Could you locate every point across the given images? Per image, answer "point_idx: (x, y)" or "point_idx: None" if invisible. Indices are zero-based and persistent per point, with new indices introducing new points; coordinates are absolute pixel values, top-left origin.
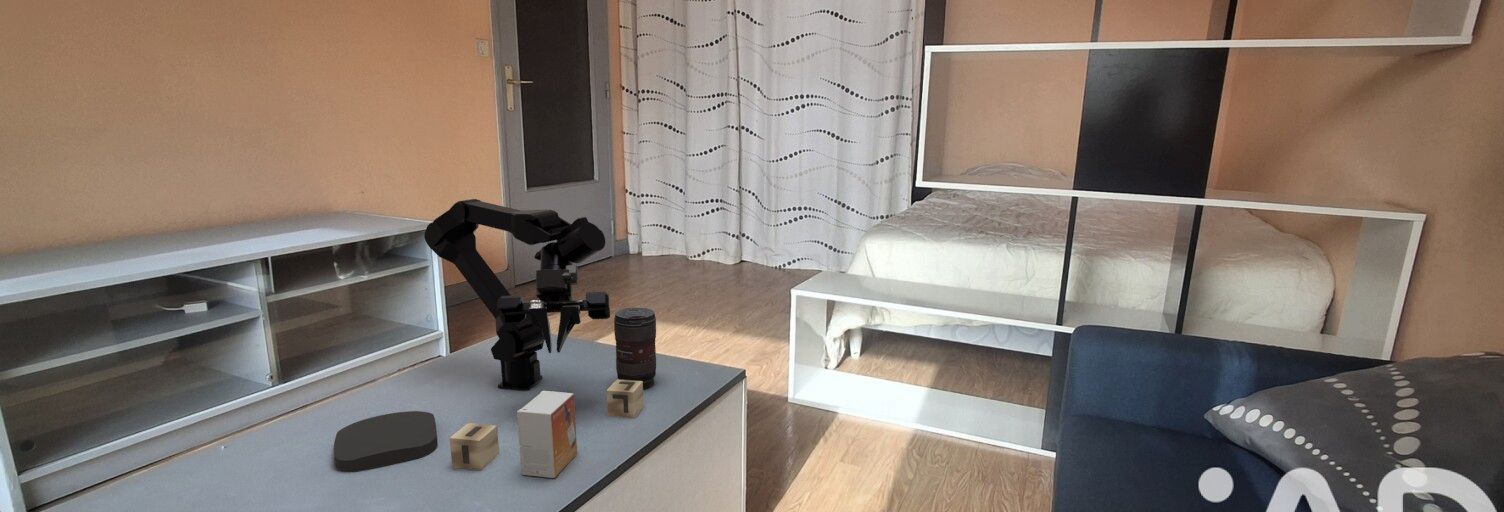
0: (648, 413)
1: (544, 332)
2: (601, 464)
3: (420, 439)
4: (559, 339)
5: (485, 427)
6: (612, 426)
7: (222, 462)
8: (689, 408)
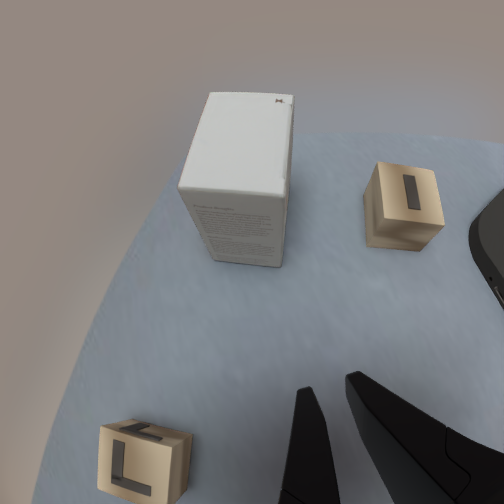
0: None
1: (434, 431)
2: (162, 229)
3: (493, 233)
4: (310, 431)
5: (401, 209)
6: (168, 381)
7: None
8: (48, 443)
